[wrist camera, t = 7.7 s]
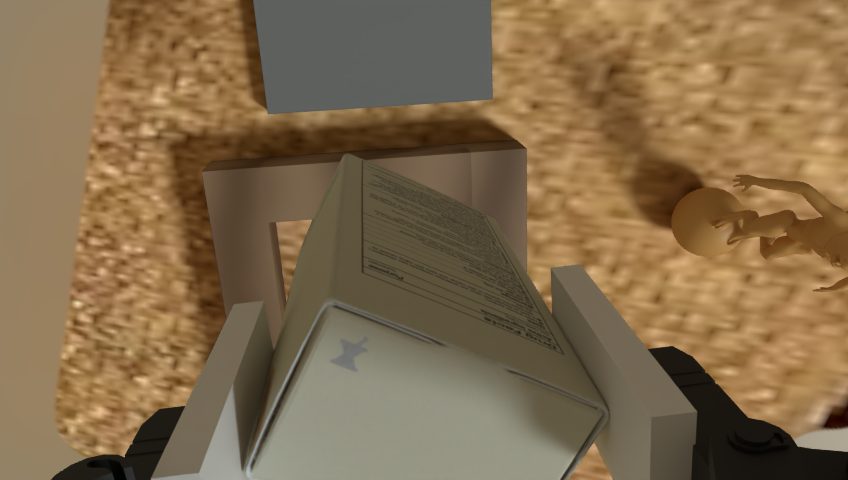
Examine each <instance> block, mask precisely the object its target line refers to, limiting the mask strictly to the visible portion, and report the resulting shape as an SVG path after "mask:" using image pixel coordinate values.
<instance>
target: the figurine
mask: <svg viewBox="0 0 848 480" xmlns="http://www.w3.org/2000/svg"><path fill="white" fill-rule="evenodd" d="M736 177H741V178H740V179H734V180H733V181H740V183H739V184H736V185H734V186H733V187H736V186H743V185H745V188H744V189H743V190H742V191H745V190H747V189H748V188H749V187H750V186H751V185H757V186H761V187H764V188H768V189H774V190H784V191H789V192H793V193H798V194H802V195H803V196H804V197H805V199H806V200H807V201H808V202H809V203H810V204H811V205H812V206H813V207H814V208H815V209H816V210H817V211H818V212H819V213H820V214H821V215H822V216H823V217H819V218H815V219H808V220H799V219H797V217H796V215H795V213H794V212H793V211H791V210H783V211H781V212H778V213H774V214H770V215H766V216H761V217H759V215H758V213H757V212H756V211H751V210H744V208H743V206H742V205H741V203H740V202H739V201H738V199H737V198H736V197H734V196H733V195H732V194H730V193H729V192H727V191H724V190H722V189H718V188H700V189H697V190H694V191H692V192H690V193H688V194H687V195H685V196H684V197H683V198H682V199H681V200H680V201H679V202H678V203H677V205H676V206H675V208H674V211H673V214H672V218H671V227H672V231H673V234H674V237H675V238H676V240H677V242H678V243H679V244H680V245H681V246H682V247H683V248H684V249H685V250H687V251H689V252H690V253H693V254H695V255H698V256H704V257H713V256H719V255H722V254H724V253H727V252H728V251H730V250H732V249H733V248H734V247H735V246H736V245H737V244H738V243H739V242H740V241H741V240H743V239H747V238H753V237H760V236H761V237H760V253H761V255H762V256H763V258H765V259H766V260H773V259H775V258H778V257H784V256H789V255H794V254H814V253H817V254H818V255H820V256H821V257H822V258H824V259H827V260H830V262H831V264H832V266H833V267H835V268H842V269H844V270H848V211H846V212H845V211H844V210H842V209H841V208H839V207H837V206H835V205H833V204H832V203H831V202H830V201H829V200H828V199H827V198H825V197H824V196H823V195H822V194H821V193H819V192H818V191H817V190H816V189H814V188H813V187H812V186H810V185H809V184H807V183H804V182H798V181H784V180H778V179H763V178H757V177H754V176H750V175H736ZM784 232H787V236H782V237H779V238H777V239H776V240H775V237H777V236H779V235H781V234H783V233H784ZM845 288H848V277H846V278H844V279H842V280H840V281H838V282H837V283H836V284H834V285H833V286H831V287H828V288H824V287H821V289H816V290H813V291H816V292H832V291H838V290H841V289H845Z"/></svg>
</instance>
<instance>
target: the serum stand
mask: <svg viewBox="0 0 848 480" xmlns="http://www.w3.org/2000/svg"><path fill="white" fill-rule="evenodd" d="M345 154H351V155H354V156H356V157H359V158H361V159H363V160H366V161H369V162H371V163H374V164H376V165H378V166H381V167H383V168H386V169H388V170H390V171H393V172H395V173H397V174H400V175H402V176H404V177H407V178H409V179H411V180H413V181H416V182H418V183H420V184H422V185H425V186H427V187H429V188H432V189H434V190H436V191H438V192H440V193H443V194H445V195H447V196H449V197H451V198H453V199H455V200H458V201H460V202H462V203H464V204H466V205H468V206H470V207H472V208H474V209H476V210H478V211H480V212H482V213H484V214H486V215H488V216H490V217H492V218H494V219H495V220H496V222H497V224H498V225H499V227H500V229H501V231H502V232H503V234H504V235H505V237H506V239H507V240H508V242H509V244H510V245H511V247H512V249H513V251H514V252H515V254H516V256H517V257H518V259H519V261H520V262H521V264H522V266H523V267H524V269H525V271H526V272H527V148H525V147H524V146H523V145H522V144H521V143H519V142H518V141H517V140H510V141H496V142H482V143H468V144H453V145H439V146H425V147H411V148H396V149H382V150H368V151H354V152H339V153H325V154H311V155H297V156H282V157H268V158H254V159H239V160H225V161H212V162H211V163H210V164H209V165H208V166H207V167H206V168H205V169H204V170H203V171H202V177H203V183H204V189H205V195H206V201H207V207H208V213H209V218H210V224H211V230H212V236H213V242H214V248H215V254H216V260H217V266H218V272H219V278H220V284H221V290H222V296H223V302H224V308H225V314H226V320H227V318H228V316H229V313H230V311H231V309H232V307H233V305H234V304H240V303H248V302H257V301H264V302H265V308H266V313H267V318H268V323H269V328H270V334H271V339H272V344H273V349H274V348H275V345H276V341H277V337H278V334H279V330H280V326H281V322H282V318H283V315H284V310H285V306H286V296H285V289H284V281H283V274H282V266H281V259H280V251H279V244H278V236H277V229H276V222H283V221H296V220H309V219H313V218H314V216H315V213H316V211H317V209H318V207H319V205H320V202H321V200H322V198H323V196H324V194H325V192H326V190H327V188H328V186H329V183H330V181H331V179H332V177H333V175H334V173H335V171H336V169H337V167H338V165H339V163H340V161H341V159H342V157H343V156H344V155H345Z"/></svg>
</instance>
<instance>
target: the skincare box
mask: <svg viewBox="0 0 848 480" xmlns="http://www.w3.org/2000/svg"><path fill="white" fill-rule="evenodd" d="M608 420H609V410H608V408H607V406H606V404H605V402H604V400H603V399H602V397H601V396H600V394H599V392H598V391H597V389H596V387H595V386H594V384H593V382H592V381H591V379H590V377H589V376H588V374H587V372H586V371H585V369H584V368H583V366H582V364H581V363H580V361H579V359H578V358H577V356H576V354H575V353H574V351H573V349H572V348H571V346H570V344H569V343H568V341H567V339H566V338H565V336H564V334H563V333H562V331H561V329H560V328H559V326H558V324H557V323H556V321H555V319H554V317H553V316H552V314H551V312H550V311H549V309H548V307H547V306H546V304H545V302H544V301H543V299H542V297H541V296H540V294H539V292H538V291H537V289H536V287H535V285H534V284H533V282H532V280H531V279H530V277H529V276H528V274H527V272H526V271H525V269H524V267H523V266H522V264H521V262H520V261H519V259H518V257H517V256H516V254H515V252H514V251H513V249H512V247H511V245H510V244H509V242H508V240H507V239H506V237H505V235H504V234H503V232H502V231H501V229H500V227H499V225H498V224H497V222H496V220H495V219H494V218H492V217H490V216H488V215H486V214H484V213H482V212H480V211H478V210H476V209H474V208H472V207H470V206H468V205H466V204H464V203H462V202H460V201H458V200H455V199H453V198H451V197H449V196H447V195H445V194H443V193H440V192H438V191H436V190H434V189H432V188H429V187H427V186H425V185H422V184H420V183H418V182H416V181H413V180H411V179H409V178H407V177H404V176H402V175H400V174H397V173H395V172H393V171H390V170H388V169H386V168H383V167H381V166H378V165H376V164H374V163H371V162H369V161H366V160H363V159H361V158H359V157H356V156H354V155H351V154H345V155H344V156H343V157H342V159H341V161H340V163H339V165H338V167H337V169H336V171H335V173H334V175H333V177H332V179H331V181H330V183H329V186H328V188H327V190H326V192H325V194H324V196H323V198H322V200H321V202H320V205H319V207H318V209H317V211H316V213H315V216H314V218H313V220H312V222H311V225H310V227H309V229H308V232H307V234H306V237H305V239H304V242H303V244H302V247H301V250H300V252H299V256H298V260H297V264H296V268H295V272H294V275H293V279H292V283H291V287H290V291H289V295H288V299H287V303H286V306H285V310H284V315H283V318H282V322H281V326H280V330H279V334H278V337H277V341H276V345H275V348H274V352H273V356H272V360H271V364H270V368H269V372H268V376H267V380H266V384H265V387H264V391H263V395H262V400H261V404H260V408H259V412H258V416H257V420H256V424H255V428H254V432H253V436H252V440H251V444H250V448H249V452H248V457H247V461H246V465H245V469H244V471H245V475H246V476H247V477H248V478H249V479H251V480H568V479H569V477H570V476H571V474H572V473H573V472H574V470H575V469H576V467H577V466H578V465H579V463H580V462H581V460H582V459H583V457H584V456H585V454H586V453H587V451H588V450H589V448H590V447H591V445H592V444H593V442H594V441H595V439H596V438H597V436H598V435H599V433H600V432H601V430H602V429H603V427H604V426H605V424H606V423H607V421H608Z"/></svg>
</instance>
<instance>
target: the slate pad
mask: <svg viewBox="0 0 848 480" xmlns="http://www.w3.org/2000/svg"><path fill="white" fill-rule="evenodd" d="M253 3H254V11H255V19H256V26H257V34H258V42H259V49H260V57H261V65H262V73H263V80H264V88H265V96H266V103H267V111H268V114H278V113H293V112H309V111H324V110H339V109H354V108H369V107H384V106H400V105H415V104H430V103H445V102H460V101H475V100H491V99H493V89H492V37H491V0H253Z"/></svg>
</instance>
